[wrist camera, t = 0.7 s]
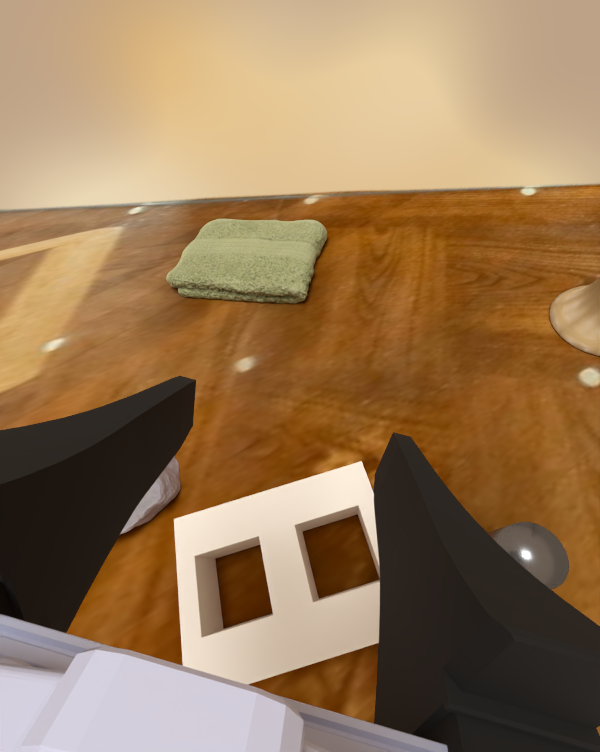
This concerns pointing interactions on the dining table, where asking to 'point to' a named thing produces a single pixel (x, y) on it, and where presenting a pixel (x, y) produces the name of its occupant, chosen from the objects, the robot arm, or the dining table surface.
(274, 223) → the washcloth
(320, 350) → the dining table surface
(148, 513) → the stone block
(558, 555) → the peg
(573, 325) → the hand bell
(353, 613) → the hole block
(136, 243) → the dining table surface
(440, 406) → the dining table surface
